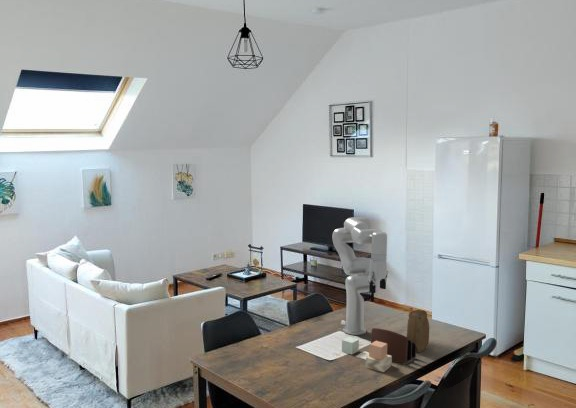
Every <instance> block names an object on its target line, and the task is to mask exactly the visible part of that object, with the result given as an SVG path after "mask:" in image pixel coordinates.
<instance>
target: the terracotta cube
mask: <svg viewBox="0 0 576 408" xmlns="http://www.w3.org/2000/svg"><path fill="white" fill-rule="evenodd" d="M368 349H369V357H372V358H375V359H379V360H382V359H383V358H385V357H386V356H387V343H383V342H379V341H374V342H373V343H371V342H370V344H369V348H368Z"/></svg>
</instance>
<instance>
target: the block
mask: <svg viewBox="0 0 576 408" xmlns="http://www.w3.org/2000/svg"><path fill="white" fill-rule="evenodd" d="M406 328H407V329H406V337H407V338H408V339H409V340H411V341H412V342H414V343H415V344H416V353H422V352H424V351H425V350H427V348H428V345H429V341H430V323H429V319H428V312H427V311H425V310H424V309H423V310H422V309H414V310H411V311H409V312H408V319H407V326H406Z"/></svg>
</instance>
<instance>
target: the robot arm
mask: <svg viewBox="0 0 576 408" xmlns="http://www.w3.org/2000/svg"><path fill="white" fill-rule="evenodd" d="M371 226H372V225H371V221H370V219H369V218H368V217H365V216H364V217H363V216H357V217H356V216H355V217H354V216H353V217H348V218H347V219H345V221H344V222H343V227H340V228H339V227H338V228H336V229H334V231H333V232H332V235H331V236H332V243H333V246H334V248H335V250H336V252H337V254H338V255H339V259H340V263H341V266H342V269H343V271H344V273H345V274H346V275H347V277H346V278H345V281H344V283H345V290H346V292H345V293H346V315H345V318H346V319H345V320H344V319H342V320H341V321H340V326H343V327H342V332H343V333H345V334H347V335H351V336H361V335H364V334H366V333H367V329H366V328H365V327H364V319H365V318H364V315H365V299H364V297H363V296H362V295H361V294H362V293H372V294H375V293H376V290H377V289H378V281H379V289H381V290H386V287H387V279H388V274H389V271H388V270H387V253H388V252H387V251H388V234H387V232H384V231H382V229H379V228H375V229H374V228H373V229H371ZM348 243H356V244H358V245H361V246H362V245H371V247H370V249H371V250H370V251H371V254H370V259H369V258H368V257H365V256H364V257H357V256H356V254H355V251H354V250H353V248H352V247H351V246H350V245H349V244H348Z"/></svg>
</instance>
